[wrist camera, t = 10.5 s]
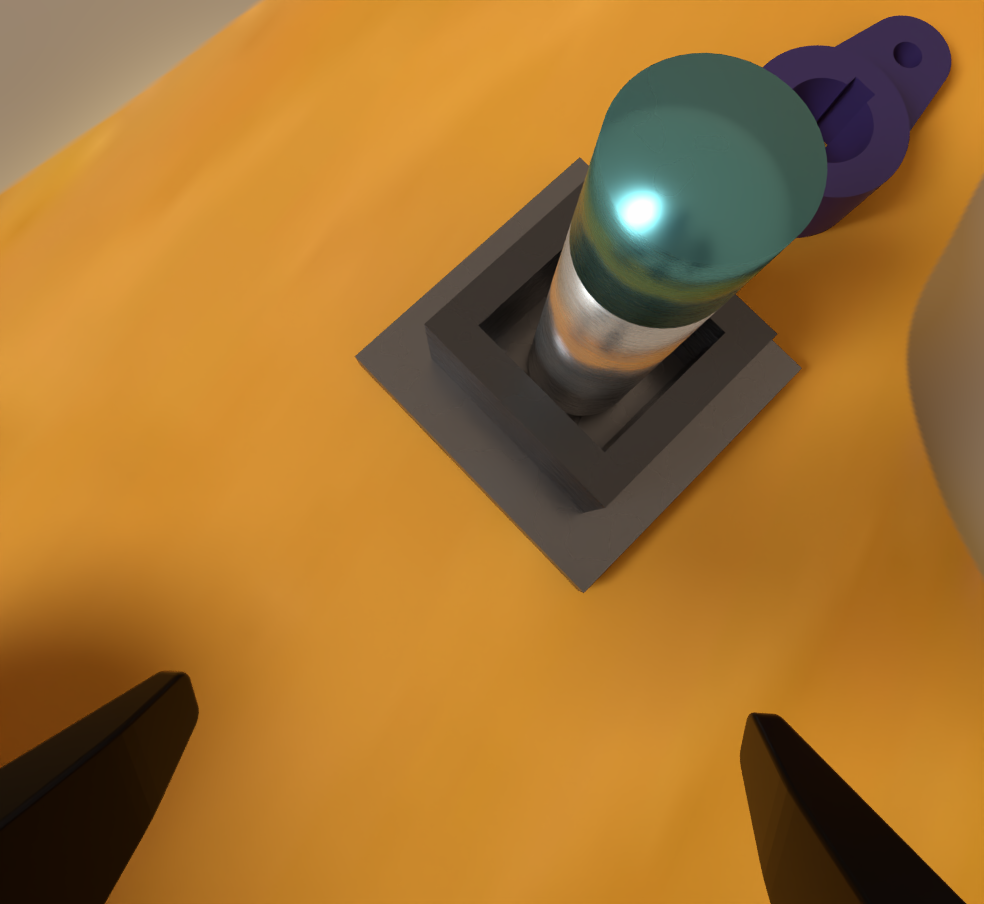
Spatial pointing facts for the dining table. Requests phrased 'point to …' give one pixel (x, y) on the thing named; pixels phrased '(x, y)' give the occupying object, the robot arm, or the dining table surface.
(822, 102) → the lever
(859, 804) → the robot arm
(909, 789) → the dining table surface
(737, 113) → the teal and silver cylinder
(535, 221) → the docking mount
